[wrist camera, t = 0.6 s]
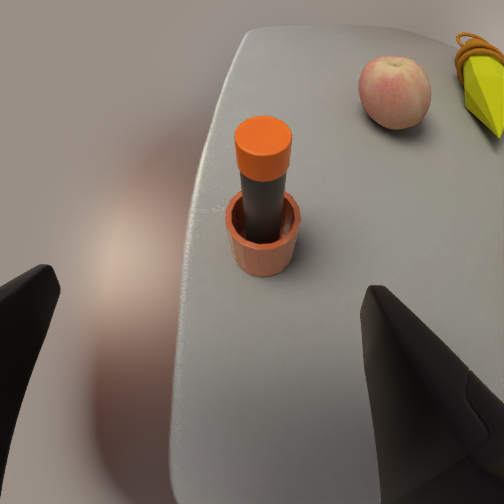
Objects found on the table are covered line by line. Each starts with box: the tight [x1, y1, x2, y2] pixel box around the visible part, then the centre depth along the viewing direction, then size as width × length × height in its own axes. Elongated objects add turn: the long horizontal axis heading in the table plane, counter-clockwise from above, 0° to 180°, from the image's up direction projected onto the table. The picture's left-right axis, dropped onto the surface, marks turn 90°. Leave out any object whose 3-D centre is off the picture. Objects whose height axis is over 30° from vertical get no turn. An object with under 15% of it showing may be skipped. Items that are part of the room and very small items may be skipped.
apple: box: [359, 57, 431, 129], centre depth 27 cm, size 8×8×8 cm
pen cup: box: [226, 190, 301, 277], centre depth 23 cm, size 5×5×5 cm
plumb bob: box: [455, 33, 504, 139], centre depth 30 cm, size 9×9×25 cm
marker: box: [234, 116, 292, 244], centre depth 19 cm, size 3×3×12 cm
